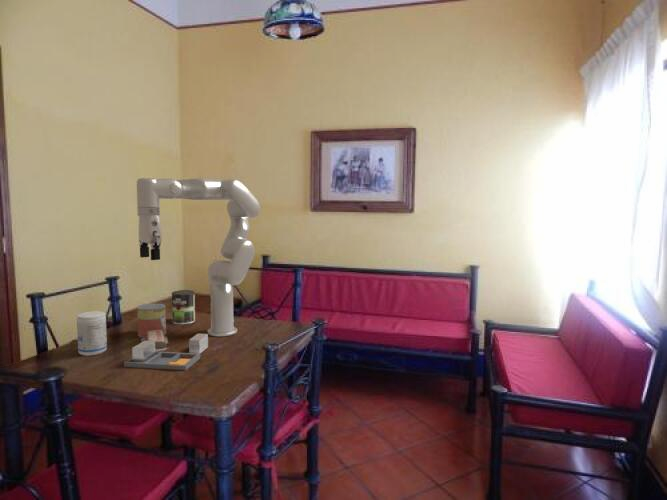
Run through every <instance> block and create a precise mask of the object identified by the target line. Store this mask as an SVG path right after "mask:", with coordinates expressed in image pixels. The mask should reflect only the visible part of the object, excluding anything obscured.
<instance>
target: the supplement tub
mask: <svg viewBox="0 0 667 500" xmlns="http://www.w3.org/2000/svg"><path fill="white" fill-rule="evenodd" d="M76 318H77V319H76V327H77V328H76V329H77V330H76V331H77V349H78V350H77V351H78V354H80V355H82V356H88V357H89V356H97V355H100V354H102V353H105V351H107V350H108V349H107V348H108V345H107V344H108V340H107V335H108V334H107V317H106V312H104V311H101V310H100V311H99V310H93V311H92V310H91V311H85V312H81V313H79V314H77V316H76Z"/></svg>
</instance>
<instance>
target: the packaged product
mask: <svg viewBox="0 0 667 500" xmlns="http://www.w3.org/2000/svg"><path fill="white" fill-rule="evenodd" d="M140 341H141V342H140V343H142V342H143V341H155V351H159V352H162V351H167V349H168V347H167V344H169V340H168V336H166V335H165V334H164V333H163V331H162V330H151V331H146V338H144V337H140Z"/></svg>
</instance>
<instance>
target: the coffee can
mask: <svg viewBox="0 0 667 500" xmlns="http://www.w3.org/2000/svg"><path fill="white" fill-rule="evenodd" d="M195 293H196V291H194V290H188V289H181V290H175V291H172V292H171V300H172V301H171V307H172V308H171V310H172V324H175V325H190V324H193V323H195V322H196V310H195V309H196V306H195V305H196V303H195V299H196V298H195V296H196V295H195Z"/></svg>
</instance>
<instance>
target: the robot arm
mask: <svg viewBox="0 0 667 500" xmlns="http://www.w3.org/2000/svg"><path fill="white" fill-rule="evenodd" d="M160 199H161V200H163V199H167V200H173V199H183V200H195V201H196V200H197V201H207V200H208V201H209V200H212V201H213V200H214V201H215V200H216V201H217V200H218V201H219V200H220V201H221V200H222V201H223V200H228V202H227V204H226V210H227V214H228V215H229V219H230V228H229V230H228V232H227V234H226V237H225V239H224V241H223V242H222V246H221V248H220V254H221V256H222V257H223V258H225V259H227V260H222V259H221V260H220V259H219V260H214V261H212V262H211V263H210V264H209V266H208V269H207V278H208V282H209V290H210V328H208V329H207V333H206V334H208V336H210V337H211V336H212V337H228V336H232V335H235V334H237V332H238V328H237V327H235V326H234V325H235V324H234V322H235V318H234V289H233V286H237V285H240V284H241V283H242V282H243V281H244V280H245V278H246V276H247V274H248V271H249V270H250V267H251V264H252V262H253V260H254V258H255V254H256V253H255V252H256V249H255V245H254V244H253V242H252V241H250V240H249V239H248V237H249V234H250V230H251V229H250V227H251V226H250V223H249V219H253V218H256V217H257V216H259V213H260V212H261V206H260V202H259V200H258V199H257V198H256V197H255V195H254V194H253V193H252V192H251V191H250V190H249V189H248V188H247V186H246V185H245V184H243V182H241V181H240V180H238V179H233V178H231V179H219V178H218V179H216V178H189V179H186V178H185V179H174V178H151V177H147V178H145V177H142V178H141V177H140V178H137V180H136V207H137V208H136V209H137V217H138V242H139V257H140V258H142V259H143V258H149V257H150V261H157V260H158V261H159V260H161V243H162V242H163V238H162V226H161V218H160V216H161V215H160V214H161V213H160V211H161V210H160ZM149 245H150V246H149ZM150 248H151V249H150ZM229 260H231V261H229Z"/></svg>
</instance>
